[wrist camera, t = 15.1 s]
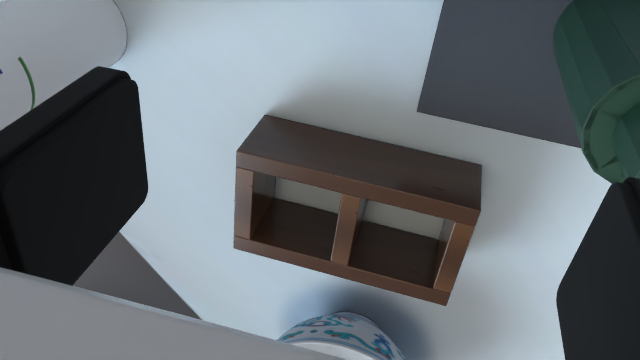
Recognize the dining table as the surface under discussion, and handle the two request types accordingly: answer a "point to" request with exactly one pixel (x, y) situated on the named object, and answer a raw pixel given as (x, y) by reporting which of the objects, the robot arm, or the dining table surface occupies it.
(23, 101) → the cylindrical container
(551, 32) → the mat
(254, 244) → the caddy
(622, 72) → the bottle
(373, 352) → the chinaware
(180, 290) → the dining table surface
